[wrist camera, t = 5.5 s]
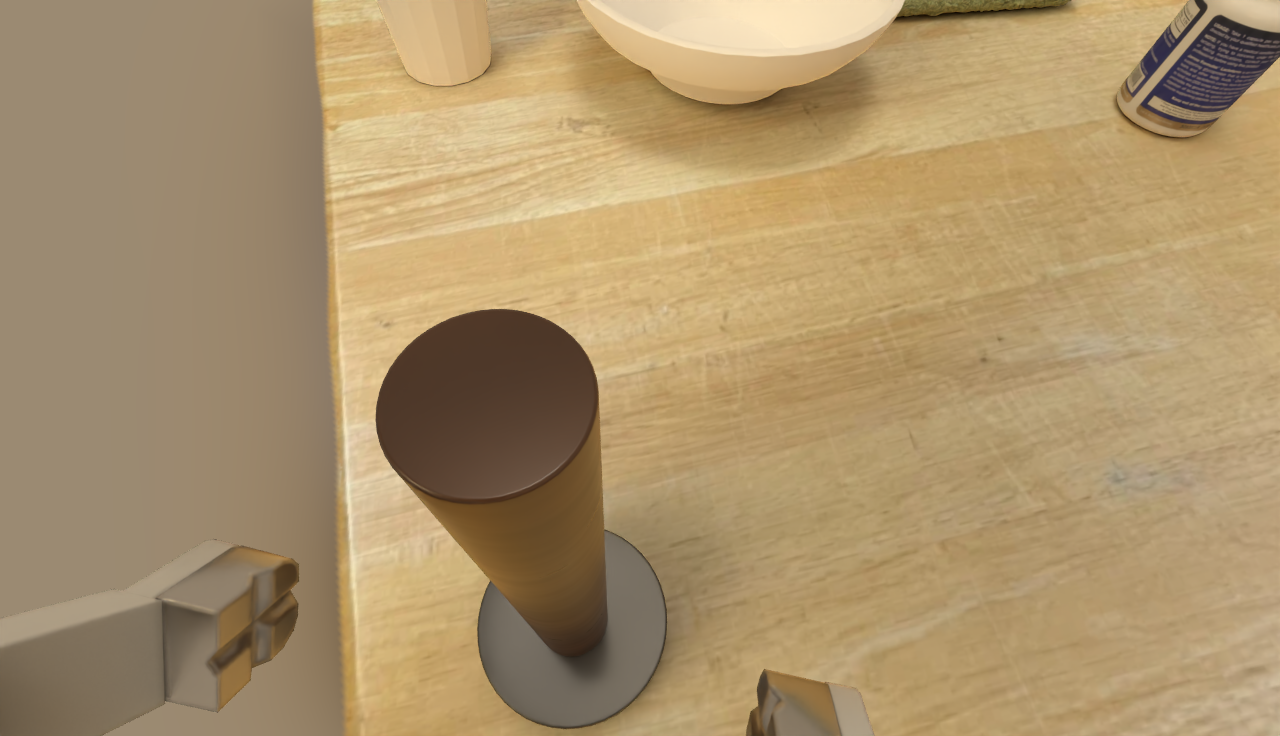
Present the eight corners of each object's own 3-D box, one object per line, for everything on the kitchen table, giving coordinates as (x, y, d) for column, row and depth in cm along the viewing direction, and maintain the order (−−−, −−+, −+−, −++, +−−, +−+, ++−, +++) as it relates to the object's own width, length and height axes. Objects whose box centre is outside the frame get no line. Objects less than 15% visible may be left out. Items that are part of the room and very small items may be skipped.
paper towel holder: (459, 626, 21) (54, 376, 6) (586, 515, 24) (537, 122, 8) (567, 772, 19) (379, 988, 4) (694, 635, 21) (907, 415, 6)
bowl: (519, 119, 36) (501, 1, 30) (628, -32, 45) (631, -143, 40) (837, 205, 33) (887, 94, 27) (882, 25, 43) (925, -86, 37)
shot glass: (521, 51, 39) (505, -70, 33) (455, 105, 36) (424, -17, 30) (440, 19, 41) (411, -102, 35) (370, 68, 38) (324, -56, 32)
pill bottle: (1225, 132, 38) (1403, -39, 29) (1156, 148, 37) (1321, -25, 28) (1159, 80, 41) (1304, -91, 32) (1093, 93, 40) (1226, -80, 31)
